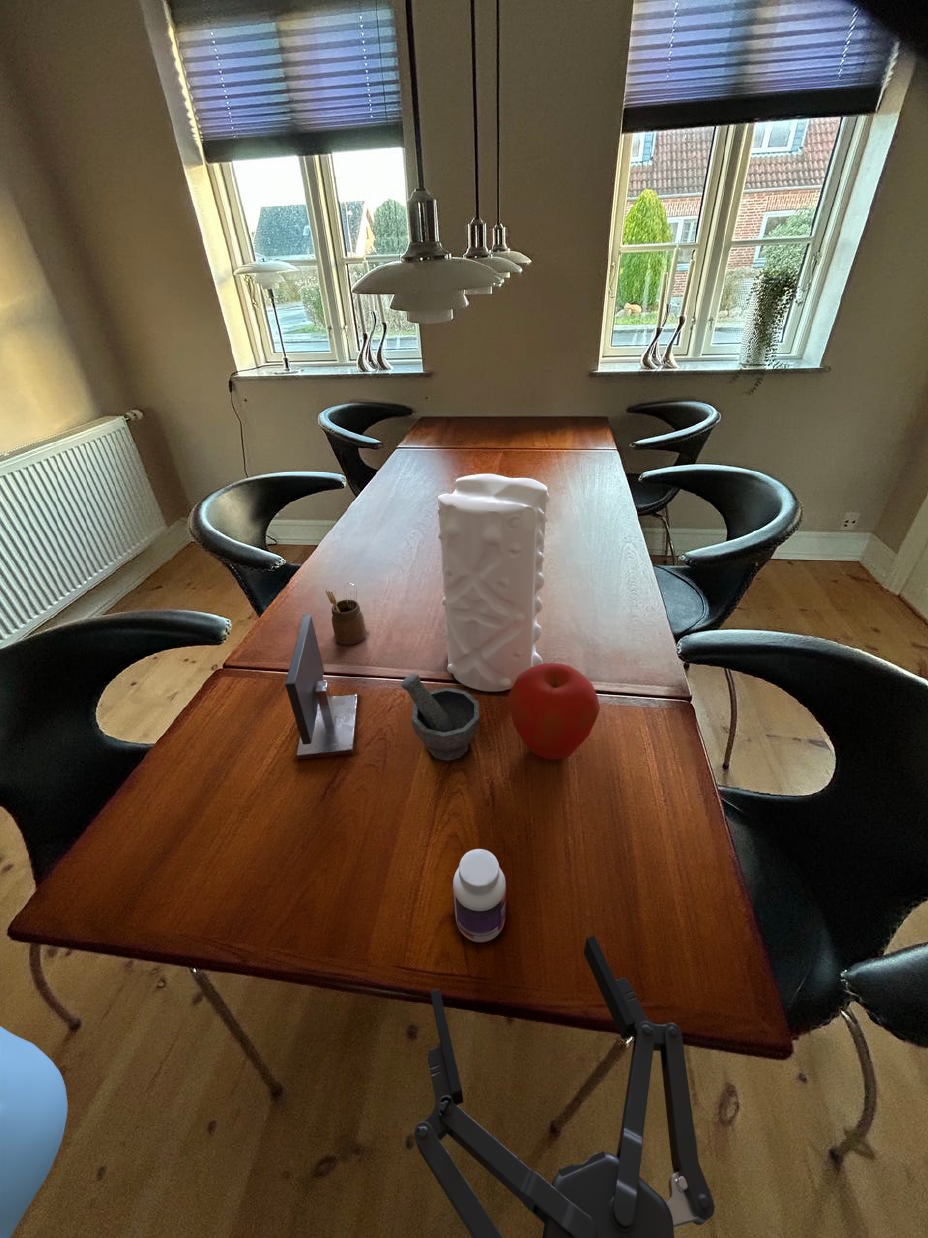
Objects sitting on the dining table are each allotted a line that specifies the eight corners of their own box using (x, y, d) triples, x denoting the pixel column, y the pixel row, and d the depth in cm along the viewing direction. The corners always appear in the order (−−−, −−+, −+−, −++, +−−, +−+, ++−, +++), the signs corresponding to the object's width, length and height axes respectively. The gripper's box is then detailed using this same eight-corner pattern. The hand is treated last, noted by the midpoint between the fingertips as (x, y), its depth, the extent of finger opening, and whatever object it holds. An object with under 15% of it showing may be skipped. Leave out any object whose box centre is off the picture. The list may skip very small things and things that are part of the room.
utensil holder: (372, 632, 103) (364, 579, 97) (351, 650, 99) (341, 595, 92) (349, 624, 106) (339, 572, 99) (327, 641, 101) (315, 587, 95)
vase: (428, 679, 91) (412, 502, 73) (468, 628, 103) (462, 466, 85) (522, 705, 85) (529, 520, 67) (552, 649, 97) (565, 478, 79)
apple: (491, 746, 78) (490, 673, 70) (542, 705, 85) (546, 634, 77) (558, 795, 71) (566, 718, 63) (608, 746, 77) (621, 671, 69)
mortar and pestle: (489, 729, 81) (488, 668, 74) (470, 776, 74) (467, 713, 67) (421, 714, 84) (414, 654, 77) (396, 758, 77) (386, 696, 70)
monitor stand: (297, 759, 77) (284, 717, 72) (308, 703, 87) (297, 663, 82) (352, 754, 78) (343, 711, 73) (357, 698, 88) (349, 658, 83)
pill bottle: (512, 934, 56) (514, 884, 51) (463, 951, 55) (460, 901, 50) (495, 887, 61) (495, 836, 55) (450, 901, 59) (445, 850, 54)
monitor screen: (301, 744, 73) (284, 684, 67) (316, 671, 86) (302, 615, 80) (311, 744, 73) (294, 683, 67) (324, 670, 86) (311, 614, 80)
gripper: (431, 1532, 27) (372, 1040, 44) (833, 1304, 32) (640, 944, 49) (418, 1555, 22) (358, 1001, 40) (883, 1288, 28) (653, 901, 45)
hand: (514, 969), depth 44 cm, fingers open, 13 cm apart
